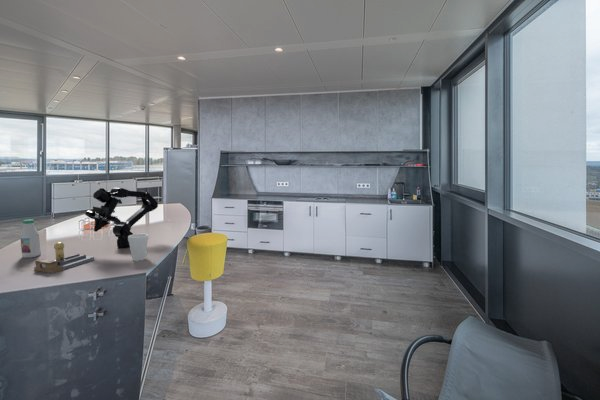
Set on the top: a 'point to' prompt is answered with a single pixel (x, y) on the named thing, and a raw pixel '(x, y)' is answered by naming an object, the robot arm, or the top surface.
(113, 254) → the top surface
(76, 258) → the grey railed plate
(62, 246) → the brass ball knob
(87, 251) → the top surface
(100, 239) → the top surface
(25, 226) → the milk bottle
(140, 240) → the foam cup
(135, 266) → the top surface
